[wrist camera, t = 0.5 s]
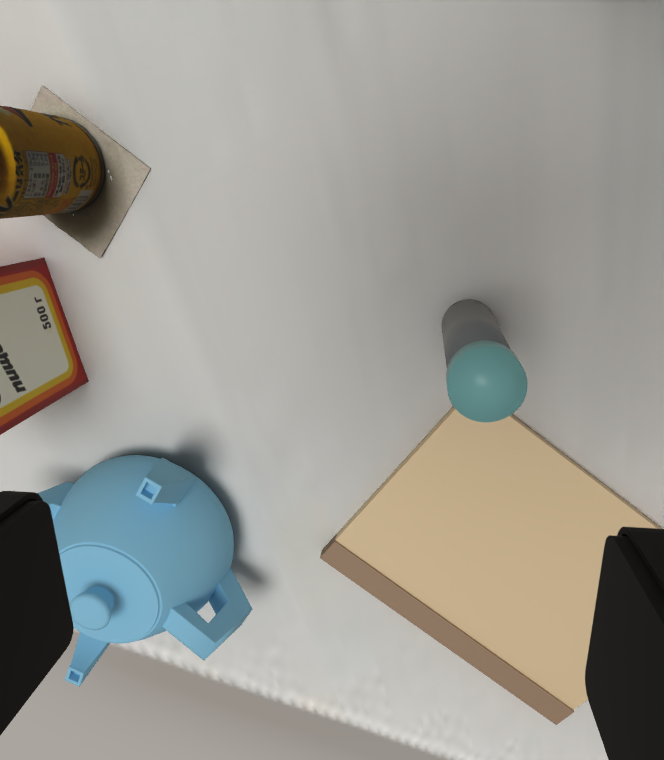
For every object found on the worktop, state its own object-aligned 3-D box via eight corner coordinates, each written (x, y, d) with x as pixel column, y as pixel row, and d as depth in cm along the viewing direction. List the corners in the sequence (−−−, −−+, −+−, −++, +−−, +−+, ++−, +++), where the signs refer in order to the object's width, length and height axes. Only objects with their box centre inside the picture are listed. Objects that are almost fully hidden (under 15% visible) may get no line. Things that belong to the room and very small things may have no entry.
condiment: (43, 85, 37) (-123, 44, 25) (151, 168, 37) (35, 164, 26) (0, 181, 39) (-168, 183, 28) (102, 257, 40) (-23, 288, 29)
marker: (464, 287, 37) (482, 334, 26) (507, 320, 37) (544, 381, 26) (429, 329, 38) (431, 392, 27) (470, 361, 38) (490, 436, 27)
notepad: (472, 385, 39) (474, 390, 38) (732, 582, 41) (740, 591, 40) (322, 550, 45) (319, 557, 44) (553, 714, 47) (556, 724, 46)
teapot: (118, 610, 51) (43, 716, 41) (40, 464, 47) (-64, 543, 37) (273, 580, 47) (233, 689, 37) (204, 419, 43) (138, 493, 33)
